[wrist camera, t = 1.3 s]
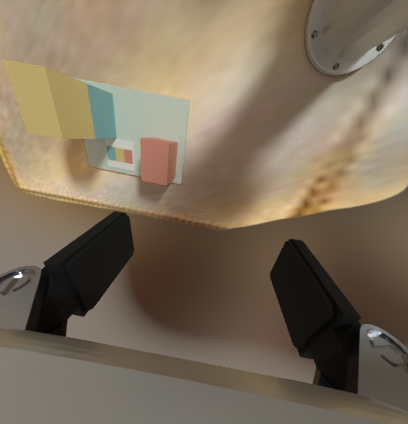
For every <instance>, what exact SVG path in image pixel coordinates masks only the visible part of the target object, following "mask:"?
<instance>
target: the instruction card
mask: <svg viewBox="0 0 408 424" xmlns="http://www.w3.org/2000/svg"><path fill="white" fill-rule="evenodd" d="M105 143H106V151H107V158H108V166H110V167H115V168H120V169H125V170H131V171H135V168H134V149H133V142H127V141H122V140H117V139H112V138H105Z"/></svg>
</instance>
